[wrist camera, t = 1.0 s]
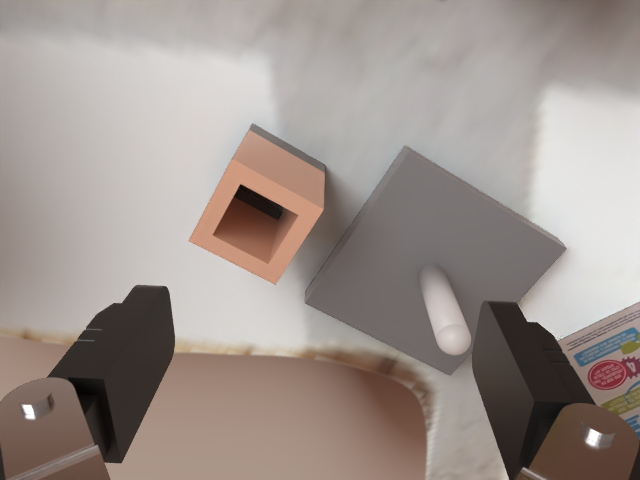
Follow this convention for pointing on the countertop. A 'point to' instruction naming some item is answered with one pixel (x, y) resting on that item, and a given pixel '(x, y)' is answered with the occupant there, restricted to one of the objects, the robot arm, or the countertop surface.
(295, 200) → the sleeve
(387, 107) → the countertop surface
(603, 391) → the juice carton
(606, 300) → the countertop surface
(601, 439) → the robot arm
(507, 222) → the pin board
